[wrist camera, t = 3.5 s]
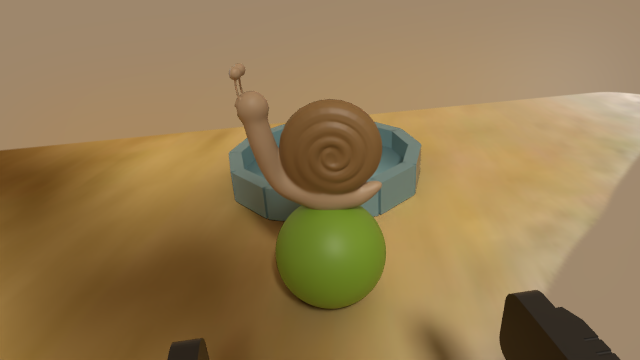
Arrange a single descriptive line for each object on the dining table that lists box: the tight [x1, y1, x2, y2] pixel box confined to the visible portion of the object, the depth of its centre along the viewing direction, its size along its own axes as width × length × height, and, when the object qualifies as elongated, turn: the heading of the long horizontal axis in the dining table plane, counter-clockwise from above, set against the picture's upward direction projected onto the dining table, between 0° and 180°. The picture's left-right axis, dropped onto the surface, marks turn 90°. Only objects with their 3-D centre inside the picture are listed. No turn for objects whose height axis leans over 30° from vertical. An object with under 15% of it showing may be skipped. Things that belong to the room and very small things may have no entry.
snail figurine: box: [229, 63, 386, 309], centre depth 20 cm, size 5×6×12 cm
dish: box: [229, 122, 421, 221], centre depth 35 cm, size 15×15×2 cm
